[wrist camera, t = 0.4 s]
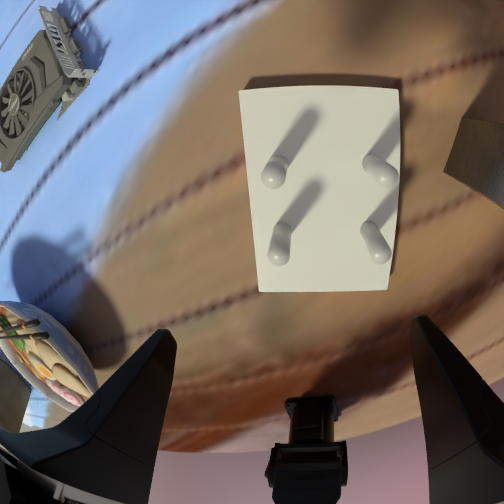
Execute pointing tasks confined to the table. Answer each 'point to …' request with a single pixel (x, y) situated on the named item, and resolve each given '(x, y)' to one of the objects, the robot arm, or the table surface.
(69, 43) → the graphics card
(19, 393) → the plant pot
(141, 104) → the table surface
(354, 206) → the pin tray
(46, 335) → the ramen bowl
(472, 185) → the block
